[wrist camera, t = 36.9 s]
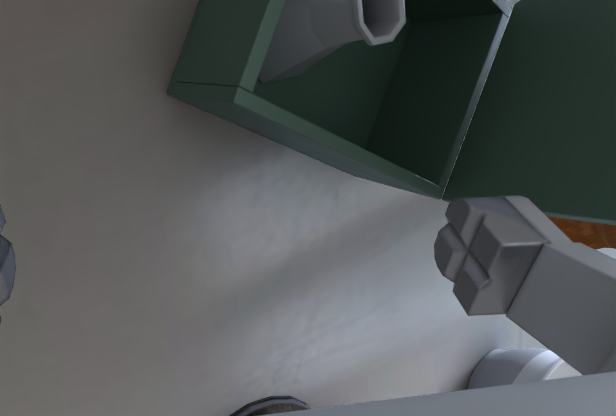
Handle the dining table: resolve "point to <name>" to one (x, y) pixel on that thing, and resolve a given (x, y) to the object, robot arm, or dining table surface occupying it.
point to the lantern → (272, 406)
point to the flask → (326, 32)
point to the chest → (351, 87)
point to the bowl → (519, 367)
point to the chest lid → (547, 114)
